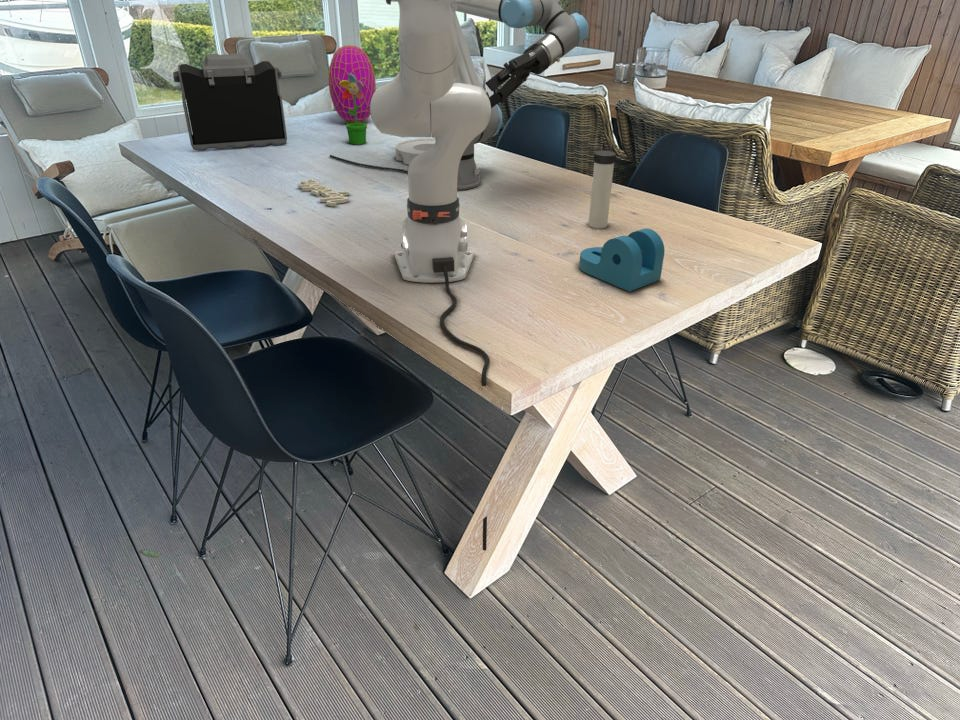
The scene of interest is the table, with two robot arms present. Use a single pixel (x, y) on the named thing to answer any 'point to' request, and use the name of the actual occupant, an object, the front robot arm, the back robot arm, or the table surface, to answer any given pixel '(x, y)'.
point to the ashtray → (412, 149)
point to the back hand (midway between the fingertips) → (484, 99)
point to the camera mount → (626, 260)
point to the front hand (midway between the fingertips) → (430, 23)
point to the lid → (604, 157)
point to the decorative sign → (324, 192)
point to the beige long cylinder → (600, 195)
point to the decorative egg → (340, 66)
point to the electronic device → (232, 102)
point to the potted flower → (354, 129)
